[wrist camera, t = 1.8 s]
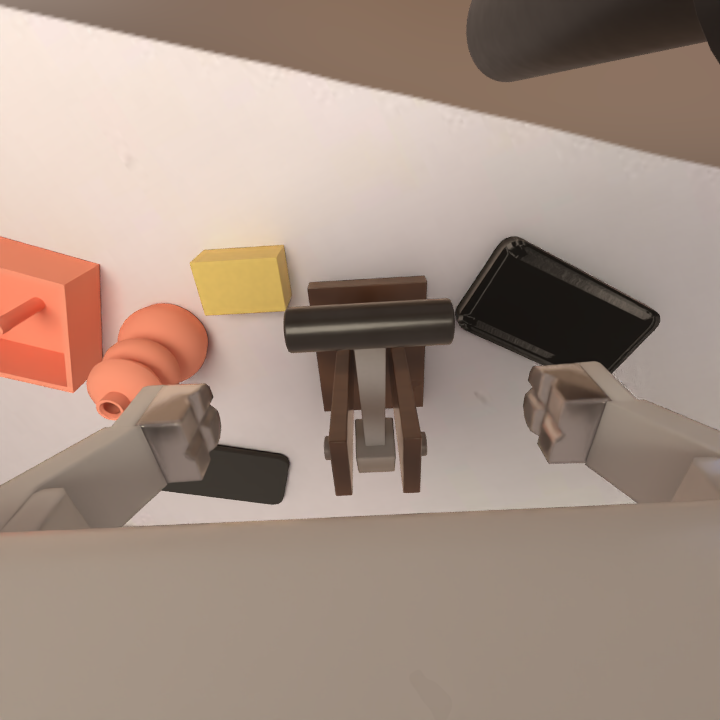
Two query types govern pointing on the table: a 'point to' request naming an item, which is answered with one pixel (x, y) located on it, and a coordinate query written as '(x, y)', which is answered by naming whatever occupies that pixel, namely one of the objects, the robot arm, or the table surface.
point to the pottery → (86, 332)
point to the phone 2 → (552, 309)
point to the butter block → (242, 280)
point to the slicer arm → (370, 355)
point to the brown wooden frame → (399, 383)
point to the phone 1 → (239, 476)
